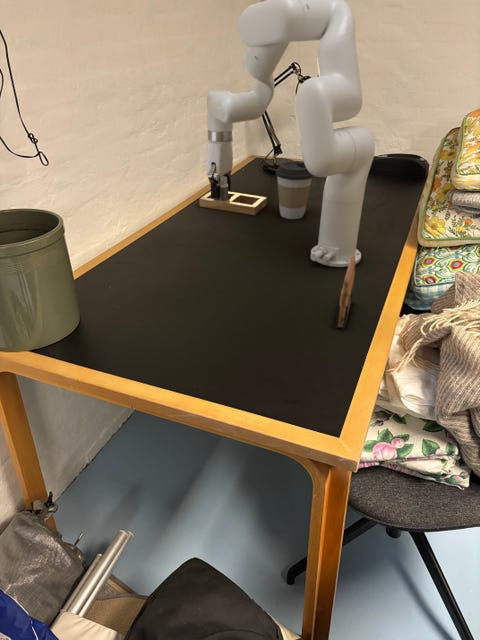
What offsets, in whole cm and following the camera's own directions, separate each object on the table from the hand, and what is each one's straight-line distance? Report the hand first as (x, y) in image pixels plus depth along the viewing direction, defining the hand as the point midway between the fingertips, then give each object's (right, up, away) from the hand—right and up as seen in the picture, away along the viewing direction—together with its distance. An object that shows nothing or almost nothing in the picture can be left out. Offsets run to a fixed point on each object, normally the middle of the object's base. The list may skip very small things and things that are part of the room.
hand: (220, 193), depth 159 cm
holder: (+4, -4, 0) cm, 5 cm away
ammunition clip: (+28, -39, -55) cm, 73 cm away
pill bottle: (0, -3, +2) cm, 3 cm away
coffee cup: (+22, -8, -6) cm, 24 cm away
